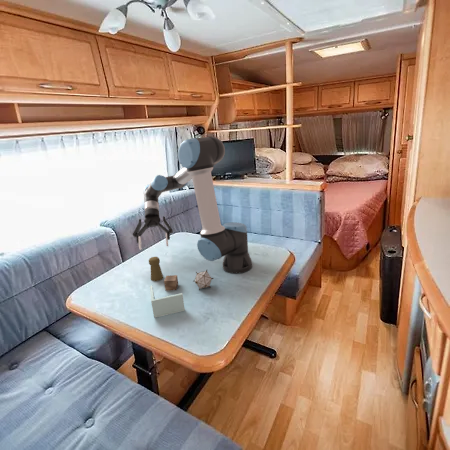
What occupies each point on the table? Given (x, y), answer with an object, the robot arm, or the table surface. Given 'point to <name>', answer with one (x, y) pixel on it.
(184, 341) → the table surface
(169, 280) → the walnut block
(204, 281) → the game die
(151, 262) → the cork
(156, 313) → the l-shaped corner panel
